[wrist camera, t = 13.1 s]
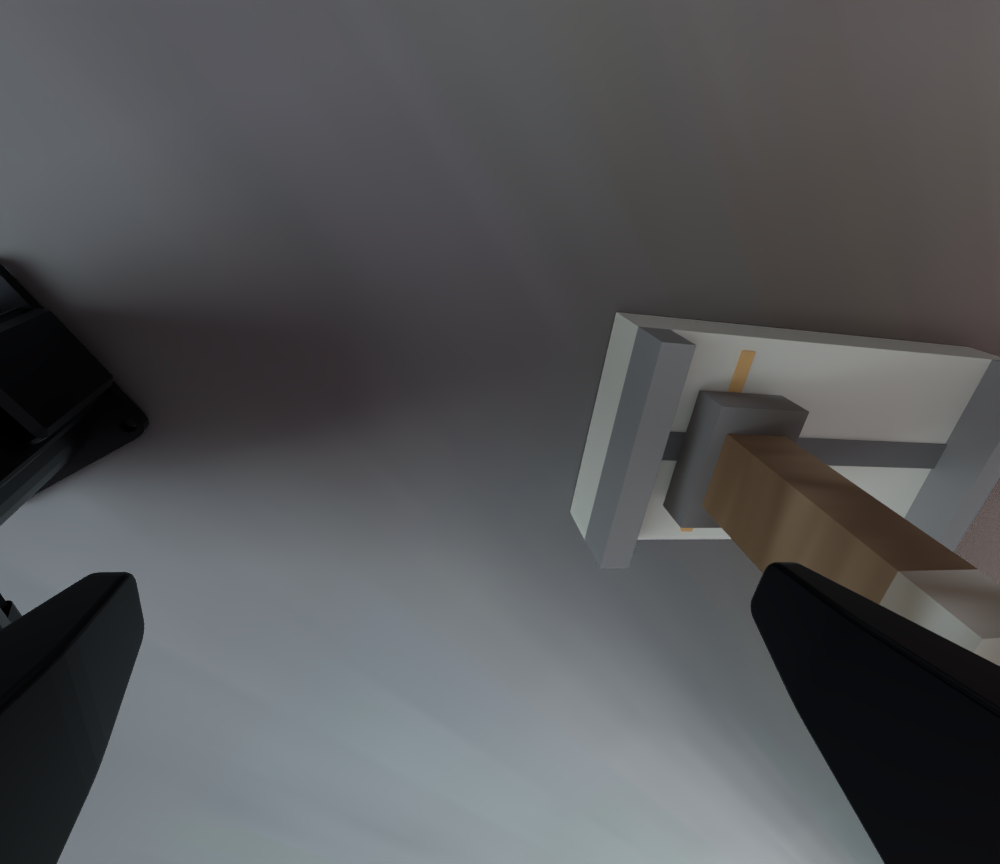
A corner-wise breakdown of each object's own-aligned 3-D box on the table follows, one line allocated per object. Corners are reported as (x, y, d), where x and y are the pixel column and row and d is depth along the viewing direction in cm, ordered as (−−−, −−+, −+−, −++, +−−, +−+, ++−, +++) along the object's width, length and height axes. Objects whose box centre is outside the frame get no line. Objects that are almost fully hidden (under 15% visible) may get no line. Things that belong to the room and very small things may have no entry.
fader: (662, 505, 21) (872, 768, 12) (699, 390, 19) (987, 601, 10) (738, 506, 22) (990, 753, 13) (781, 395, 20) (1120, 596, 11)
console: (569, 511, 24) (599, 569, 20) (616, 311, 20) (662, 342, 17) (879, 514, 28) (947, 562, 24) (968, 346, 24) (1062, 377, 20)
